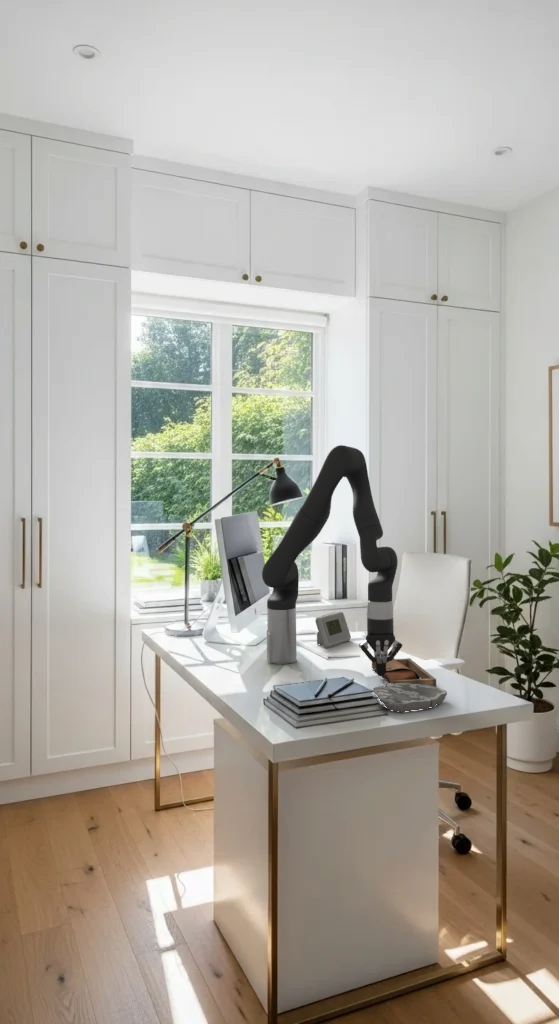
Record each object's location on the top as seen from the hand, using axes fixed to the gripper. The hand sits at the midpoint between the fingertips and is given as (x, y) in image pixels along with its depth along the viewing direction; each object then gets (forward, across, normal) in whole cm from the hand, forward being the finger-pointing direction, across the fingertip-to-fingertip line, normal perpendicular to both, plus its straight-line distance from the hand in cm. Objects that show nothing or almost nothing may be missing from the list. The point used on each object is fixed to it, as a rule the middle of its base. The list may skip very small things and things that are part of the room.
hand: (380, 675), depth 206 cm
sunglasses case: (+2, +5, +1) cm, 5 cm away
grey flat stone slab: (+2, +1, -23) cm, 23 cm away
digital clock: (+1, -5, +47) cm, 47 cm away
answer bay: (+1, +6, 0) cm, 7 cm away
